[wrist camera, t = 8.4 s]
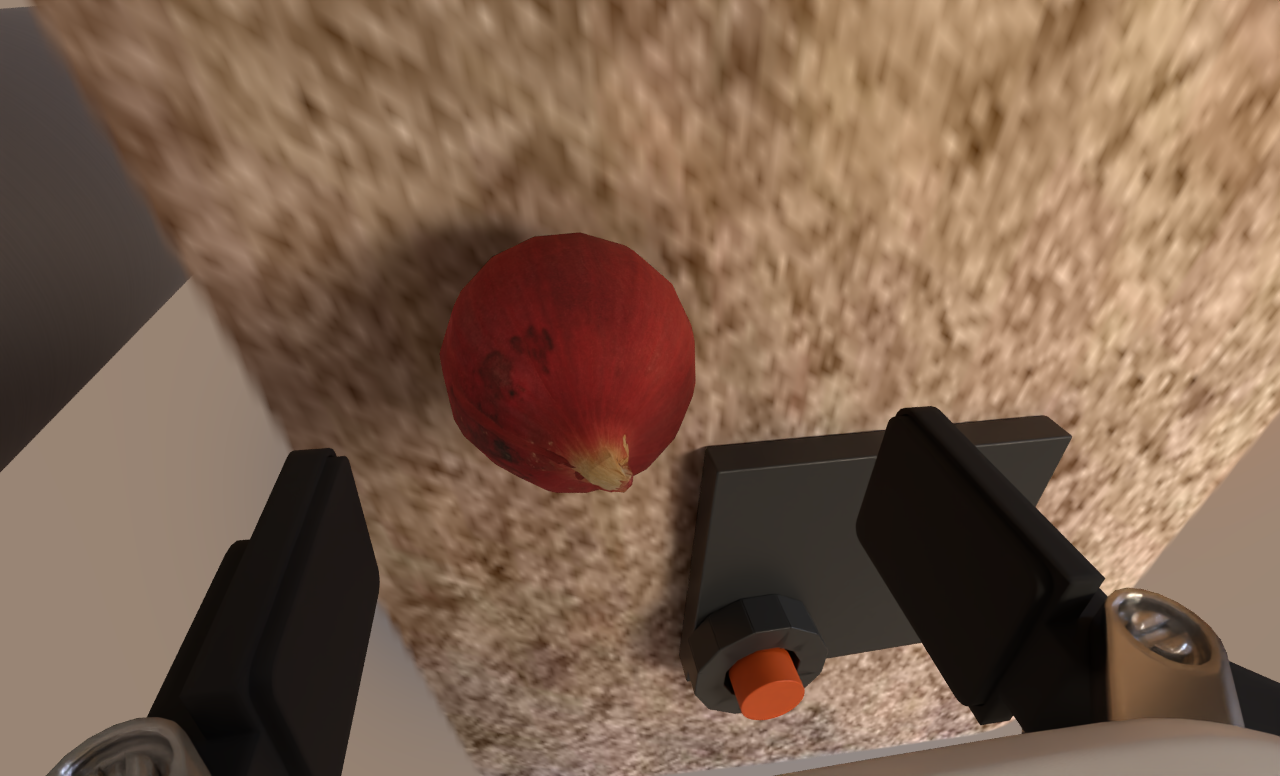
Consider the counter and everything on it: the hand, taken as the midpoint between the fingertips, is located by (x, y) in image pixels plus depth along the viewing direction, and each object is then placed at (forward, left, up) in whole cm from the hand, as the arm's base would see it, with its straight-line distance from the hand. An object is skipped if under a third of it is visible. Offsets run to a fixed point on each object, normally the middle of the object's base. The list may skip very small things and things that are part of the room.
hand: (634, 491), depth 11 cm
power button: (+7, -16, -6) cm, 18 cm away
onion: (-1, 0, -9) cm, 9 cm away
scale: (+11, -12, -8) cm, 19 cm away
